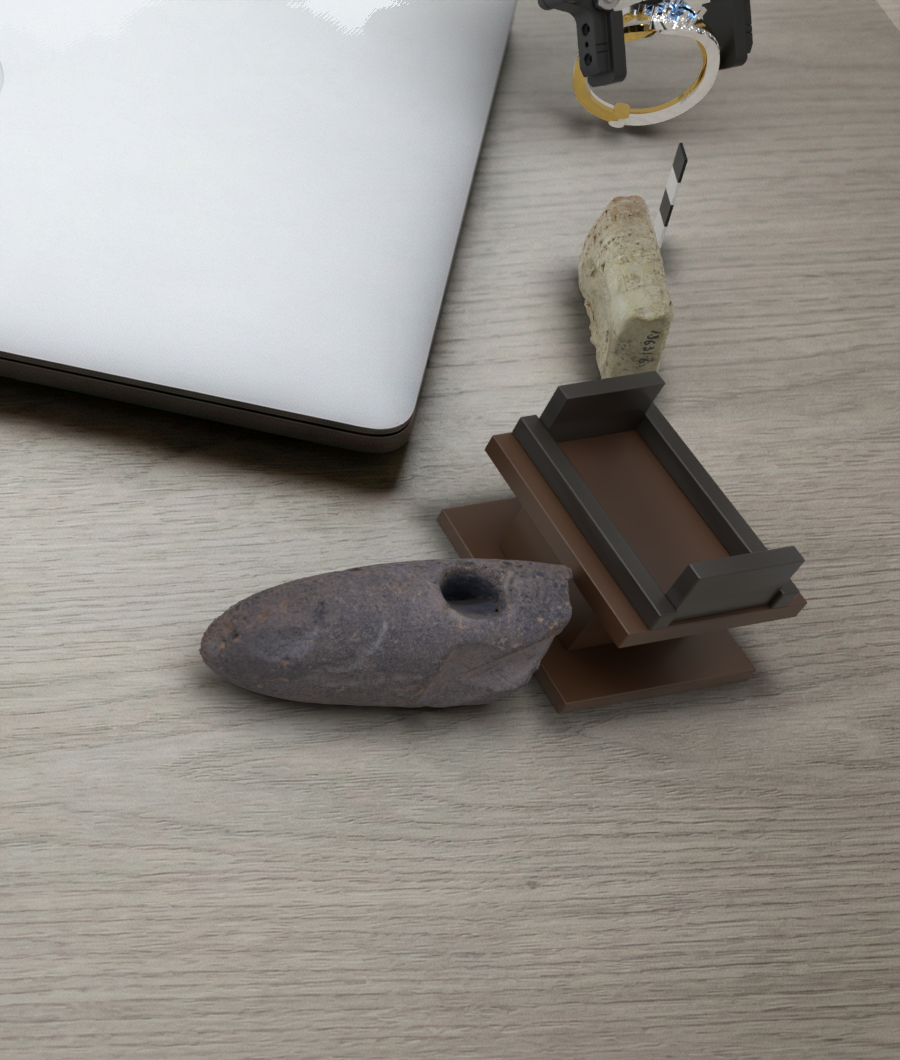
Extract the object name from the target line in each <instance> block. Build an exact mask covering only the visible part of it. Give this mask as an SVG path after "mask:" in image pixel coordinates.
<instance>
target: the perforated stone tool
mask: <svg viewBox="0 0 900 1060" xmlns="http://www.w3.org/2000/svg"><path fill="white" fill-rule="evenodd" d="M572 580H573V574H572V569H571V568H569V567H567V566H566V565H555V564H546V563H542V562H531V561H521V560H502V559H477V558H472V559H461V558H432V559H431V558H430V559H422V560H420V559H419V560H405V561H394V562H385V563H375V564H369V565H362V566H357V567H350V568H346V569H343V570H334V571H328V572H324V573H318V574H315V575H310V576H305V577H301V578H297V579H294V580H289V581H286V582H283V583H280V584H277V585H274V586H272V587H267V588H265V589H263V590H260V591H258V592H254V594H253V593H252V594H251V595H249V596H247V597H246V598H244V599H241V600H239V601H237V602H236V603H235V604H233V605H231V606H229V608H228V609H226V610H224V611H223V613H221V615H218V616H217V617H215V618H213V621H212V622H211V623H210V624H209V625H208V626H207V628H206V630H205V631H204V632H203V635H202V637H201V641H200V648H199V649H198V651H199V653H198V654H199V655H200V656H201V659H202V661H203V663H204V664H205V665H206V666H207V667H208V668H209V669H210V670H211V671H212V672H213V673H215V674H216V676H218V677H220V678H221V679H224V680H226V681H228V682H230V683H232V684H234V685H236V686H237V687H240V688H242V689H245V690H248V691H251V692H254V693H256V694H260V695H263V696H267V697H272V698H276V699H282V700H287V701H292V702H300V703H309V704H320V705H338V706H339V705H344V706H345V705H346V706H354V707H355V706H357V707H386V708H387V707H388V708H390V707H397V708H422V707H429V708H434V709H435V708H437V709H438V708H440V709H441V708H442V709H445V708H450V707H457V706H478V705H488V704H492V703H493V702H496V701H498V700H501V699H504V698H506V697H510V696H511V695H513V694H514V693H516V692H517V691H518V690H520V689H521V688H523V687H526V686H527V684H528V683H529V682H530V681H531V679H532V677H533V676H534V674H533V673H534V671H536V670H538V669H539V666H540V662H541V659H542V658H543V657H544V656H545V653H546V652H547V651H548V649H549V646H550V645H551V643H552V641H553V639H554V637H555V636H556V635H558V634H559V633H561V632H562V631H563V629H564V628H565V627H566V626H567V624H568V623H569V621H570V618H571V615H572V607H571V604H570V600H569V598H570V597H569V592H568V591H569V588H568V584H570V583H571V581H572Z"/></svg>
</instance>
